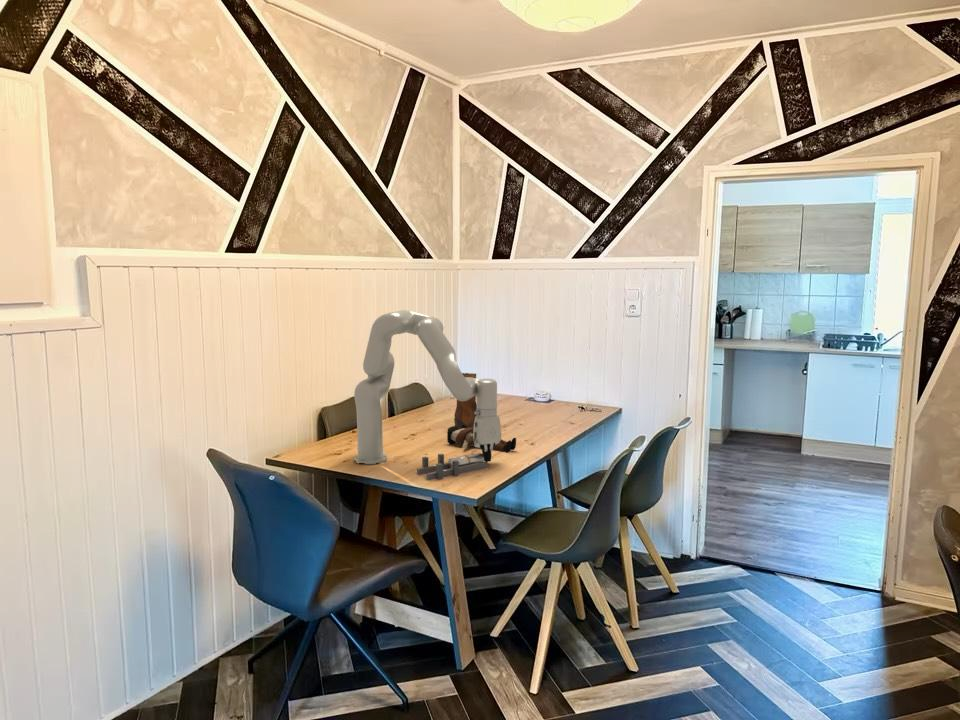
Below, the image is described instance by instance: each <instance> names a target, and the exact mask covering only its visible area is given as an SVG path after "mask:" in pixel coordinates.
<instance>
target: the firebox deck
mask: <svg viewBox="0 0 960 720" xmlns="http://www.w3.org/2000/svg"><path fill="white" fill-rule="evenodd" d="M421 460H422V461H421V465H422V466H421V467H418V468H416V471H415V472H414V474H416V475H418V476H420V477H422V479H425V480H427V481H429V482H431V483H432V482H436V481H441V480H447V479H450V478H455V477H459V476H460V477H461V476H465V475H470V474H475V473H479V472H484V471H488V470H491V468H489V461H488V462H486V461H484V462H481V463H476V464H471V465H466V466H461V467H459V461H457V460H454V461H452V469H449V467H448V462H445V454H443V453H438V454H437V463H436V464H433V465H429V457H428V456H422V458H421Z"/></svg>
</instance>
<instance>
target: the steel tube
mask: <svg viewBox="0 0 960 720" xmlns="http://www.w3.org/2000/svg"><path fill="white" fill-rule="evenodd" d="M454 460H457V461H459V467H461V466H466V465H471V464H476V463H481V462H485V461H484V456H483V454H482V453H481V452H478V453H477V452H476V453H472V454H465V455H462V456H455V457H451V458H448V459H447V463H448V467H449V469H452V461H454Z"/></svg>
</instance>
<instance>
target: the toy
mask: <svg viewBox="0 0 960 720" xmlns="http://www.w3.org/2000/svg"><path fill="white" fill-rule="evenodd" d="M473 429H474V428H472V427H471V428H461V429H459V428H458V426H455V425H453V426H450V427H448V428H447V432H446V435H447V436H446V437H447V439H446V440H447V443H448V444H449V445H450V444H451V445H454V444H455V443H457V444H460V445H462V448H463V449H465V448H469V447H472V446H474V443H475V442H474V441H473ZM516 446H517V438H516V437H513V438H512V439H511V440H508V441H506V440H503V438H501V440H500V441H499V443H498V444H496V445H495V446H494V447H493V450H492V451H494V450H495V451H501V452H504V453H505V454H508V453H510V452H511V451H513V450H515V449H516V448H517V447H516Z"/></svg>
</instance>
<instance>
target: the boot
mask: <svg viewBox="0 0 960 720" xmlns="http://www.w3.org/2000/svg"><path fill="white" fill-rule="evenodd" d="M462 374H463V376H464V377H471V378H477V373H469V372H462ZM476 409H477V397H476V396H474V397H472V398H470V399H469V400H467V401H459V400H457V399H456V406H455V411H454V419H453V420H454V426H458V428H459V429H461V428H471V427H472V428H474V421H475V417H476V416H477V415H475V414H474V411H476Z"/></svg>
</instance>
